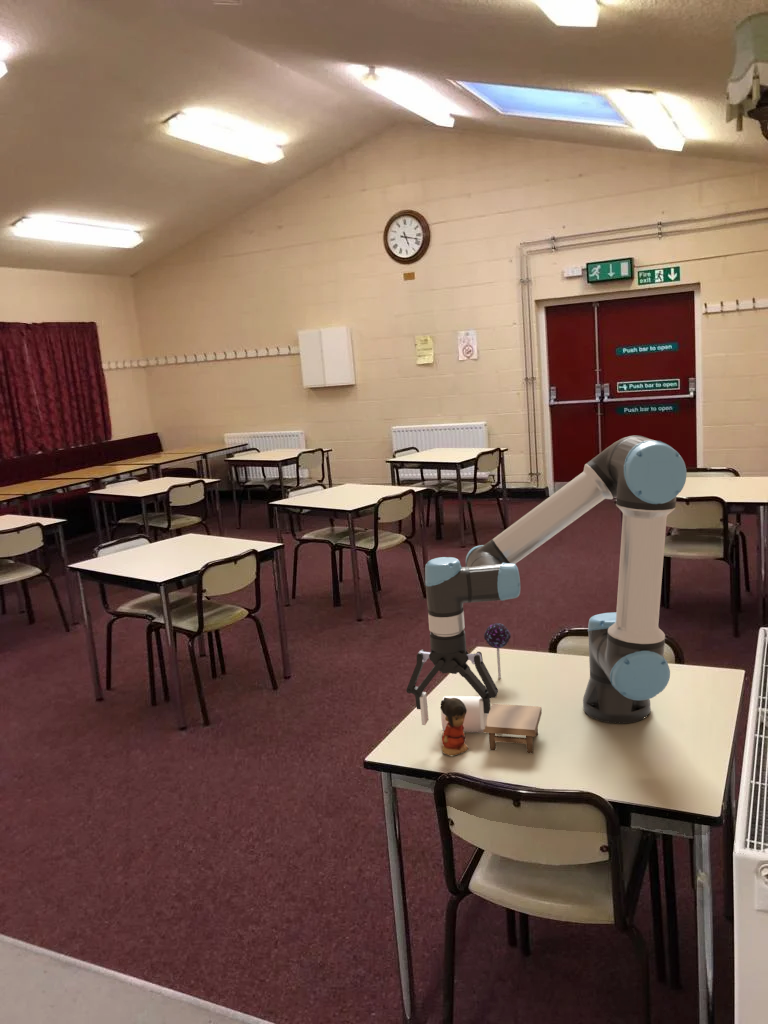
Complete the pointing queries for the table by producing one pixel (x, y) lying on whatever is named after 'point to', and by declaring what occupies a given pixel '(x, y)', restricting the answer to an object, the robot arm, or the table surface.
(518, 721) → the tan legged square part
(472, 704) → the mug
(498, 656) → the lollipop
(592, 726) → the table surface
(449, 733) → the figurine
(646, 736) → the table surface
